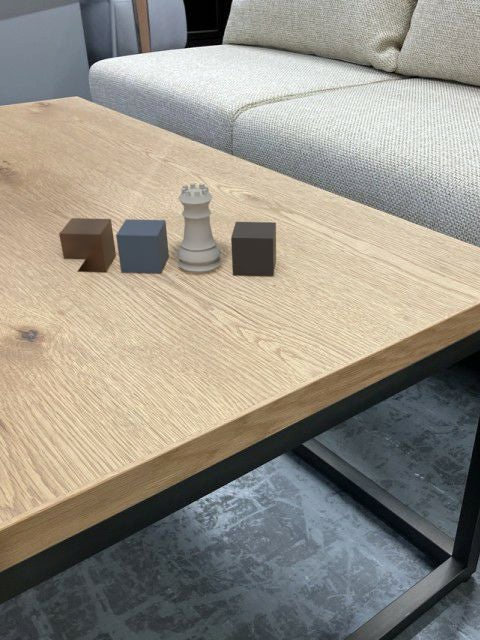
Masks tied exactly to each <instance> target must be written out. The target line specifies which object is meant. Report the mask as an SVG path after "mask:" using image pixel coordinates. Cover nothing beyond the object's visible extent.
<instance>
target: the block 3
mask: <svg viewBox="0 0 480 640" xmlns="http://www.w3.org/2000/svg"><path fill="white" fill-rule="evenodd" d="M234 223H235V224H234V226H233V229H232V233H231V237H230V243H231V265H232V266H231V267H232V276H233V277H236V276H237V277H238V276H239V277H274V276H275V269H276V262H277V222H272V221H271V222H269V221H268V222H267V221H235V222H234Z"/></svg>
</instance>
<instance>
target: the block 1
mask: <svg viewBox="0 0 480 640" xmlns="http://www.w3.org/2000/svg"><path fill="white" fill-rule="evenodd" d="M58 235H59V236H58V237H59V241H60V246H61V251H62V257H63V259H64V260H83V262H82V263H81V265H80V266H79V268H78V269H77V272H76V273H107V272H108V270H109V268H110V267H111V265H112V264H113V262H114V260H115V258H116V257H117V252H116V251H117V250H116V245H115V239H114V232H113V224H112V219H111V218H87V217H86V218H85V217H84V218H83V217H81V218H80V217H73V218H72V217H71V218H70V219H69V221H68V222H67V223H66V224H65V225H64V227H63V228H62V229H61V230H60V231H59V233H58Z"/></svg>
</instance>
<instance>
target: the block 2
mask: <svg viewBox="0 0 480 640" xmlns="http://www.w3.org/2000/svg"><path fill="white" fill-rule="evenodd" d="M115 237H116V245H117V251H118V258H119V266H120V272H121V273H122V274H153V275H154V274H155V275H156V274H157V275H161V274H163V271H164V269H165V266H166V265H167V262H168V260H169V258H170V252H169V242H168V232H167V222H166V220H165V219H134V218H133V219H131V218H130V219H128V218H126V219H125V220H124V222H123V223H122V225H121V226H120V228H119V230H118V231H117V232H116V234H115Z"/></svg>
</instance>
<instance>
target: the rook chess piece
mask: <svg viewBox="0 0 480 640" xmlns="http://www.w3.org/2000/svg"><path fill="white" fill-rule="evenodd" d="M189 187H190V188H189ZM213 198H214V196H213V195H212V193H211V192H210V190H209V186H208V185H206V184H205V183H199V184H198V187H196V182H194V183H189V185H188V184H184V185H182V187H181V193H180V195H178V198H177V199H178V201H179V202H180V204H181V205H182V206H183V211H182V212H181V215H182V217H183V220H184V228H183V229H184V230H183V237H182V238H183V239H182V241H181V242H180V245H181V246H179V248H178V250H177V257H178V258H179V259H178V260H177V265H178V267H179V268H180V269H181V271H184V272H185V273H187V274H191V275H205V274H206V275H207V274H210V273H214V272H215V271H217V270H218V269H219V268H220V266H221V265H222V263H223V259H222V257H221V254H222V250H221V248H220V246H219V245H218V244H217V240H216V239H215V238H214V236H213V231H212V227H211V219H210V216H211V214H212V211H211V210H210V207H209V205H210V203H211V202H212V200H213Z"/></svg>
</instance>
